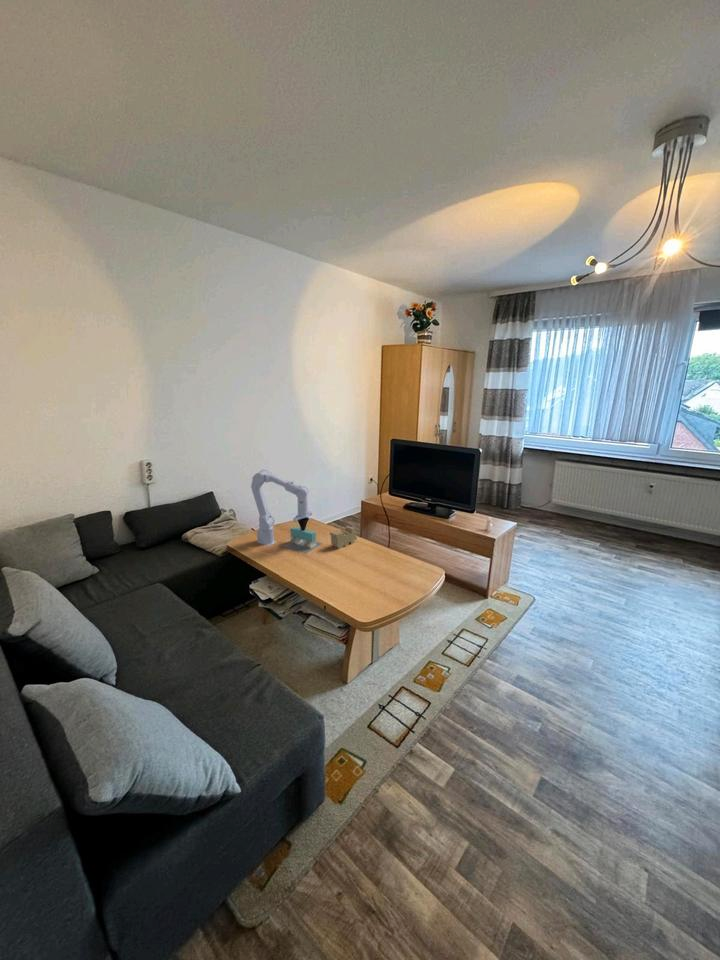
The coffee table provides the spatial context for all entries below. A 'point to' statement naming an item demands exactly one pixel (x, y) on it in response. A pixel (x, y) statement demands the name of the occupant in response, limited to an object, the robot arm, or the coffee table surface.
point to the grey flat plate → (300, 547)
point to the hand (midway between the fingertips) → (303, 529)
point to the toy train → (343, 537)
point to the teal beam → (303, 534)
